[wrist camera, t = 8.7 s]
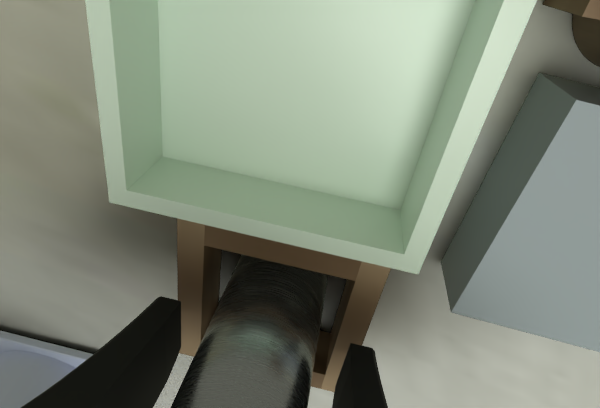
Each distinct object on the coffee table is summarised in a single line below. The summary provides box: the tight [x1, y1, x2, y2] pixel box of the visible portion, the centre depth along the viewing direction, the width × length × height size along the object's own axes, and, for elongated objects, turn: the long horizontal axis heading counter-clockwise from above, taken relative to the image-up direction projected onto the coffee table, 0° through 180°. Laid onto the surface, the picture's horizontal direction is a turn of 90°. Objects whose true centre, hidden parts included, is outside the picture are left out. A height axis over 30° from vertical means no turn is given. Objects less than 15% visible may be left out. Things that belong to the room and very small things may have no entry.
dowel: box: [171, 254, 327, 408], centre depth 11 cm, size 3×3×7 cm
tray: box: [85, 0, 537, 274], centre depth 9 cm, size 8×8×2 cm
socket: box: [177, 218, 391, 392], centre depth 13 cm, size 6×6×2 cm
